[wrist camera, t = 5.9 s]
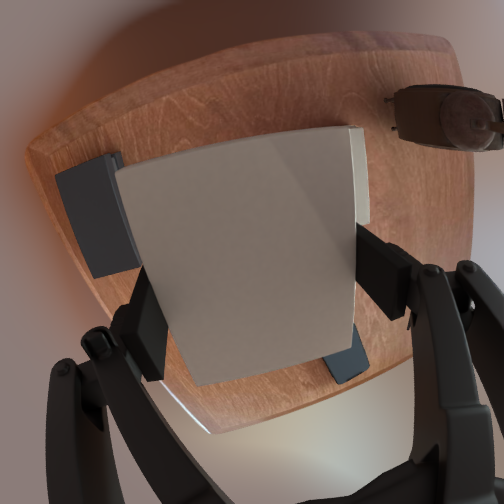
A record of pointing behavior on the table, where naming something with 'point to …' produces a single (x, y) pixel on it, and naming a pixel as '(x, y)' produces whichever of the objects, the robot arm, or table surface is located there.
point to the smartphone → (348, 360)
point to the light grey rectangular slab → (250, 248)
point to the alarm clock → (449, 117)
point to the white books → (360, 174)
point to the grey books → (99, 215)
